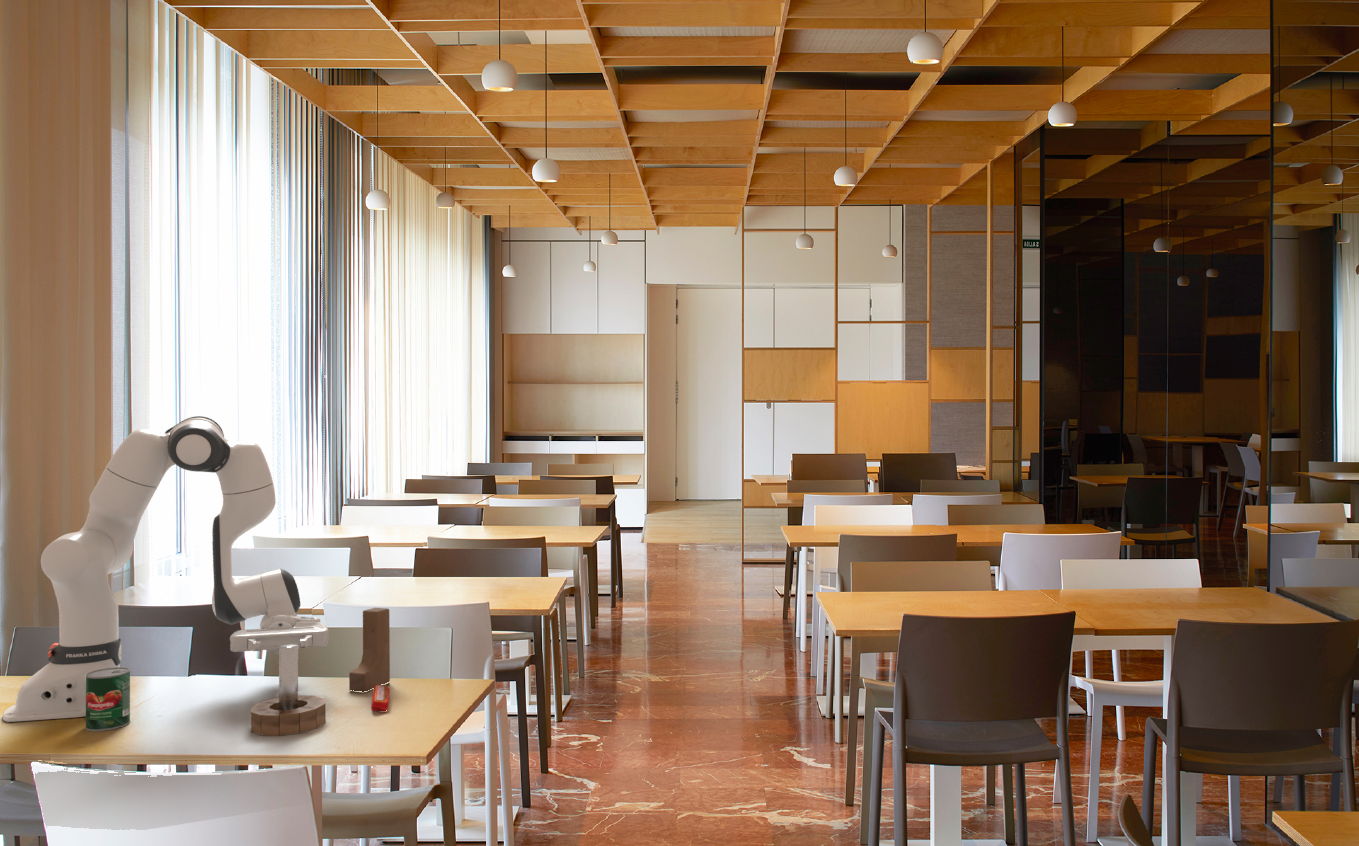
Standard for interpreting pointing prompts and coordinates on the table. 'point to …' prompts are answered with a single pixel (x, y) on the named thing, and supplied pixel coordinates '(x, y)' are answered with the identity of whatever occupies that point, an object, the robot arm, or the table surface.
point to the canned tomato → (107, 699)
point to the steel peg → (288, 677)
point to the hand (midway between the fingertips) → (280, 645)
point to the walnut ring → (288, 716)
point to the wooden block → (373, 652)
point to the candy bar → (380, 698)
